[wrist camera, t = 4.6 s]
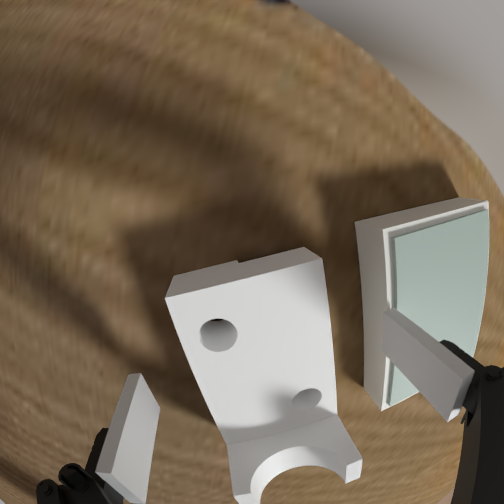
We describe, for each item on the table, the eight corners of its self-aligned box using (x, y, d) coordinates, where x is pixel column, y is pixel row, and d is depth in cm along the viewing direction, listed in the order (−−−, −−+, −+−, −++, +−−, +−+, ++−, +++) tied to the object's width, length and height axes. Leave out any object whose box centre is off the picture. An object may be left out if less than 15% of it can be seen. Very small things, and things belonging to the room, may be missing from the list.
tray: (363, 387, 19) (383, 413, 15) (354, 221, 16) (385, 230, 12) (453, 341, 20) (475, 357, 16) (459, 197, 16) (491, 201, 13)
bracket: (321, 405, 19) (359, 477, 12) (232, 429, 18) (244, 510, 11) (298, 243, 16) (367, 287, 8) (174, 274, 15) (146, 346, 8)
